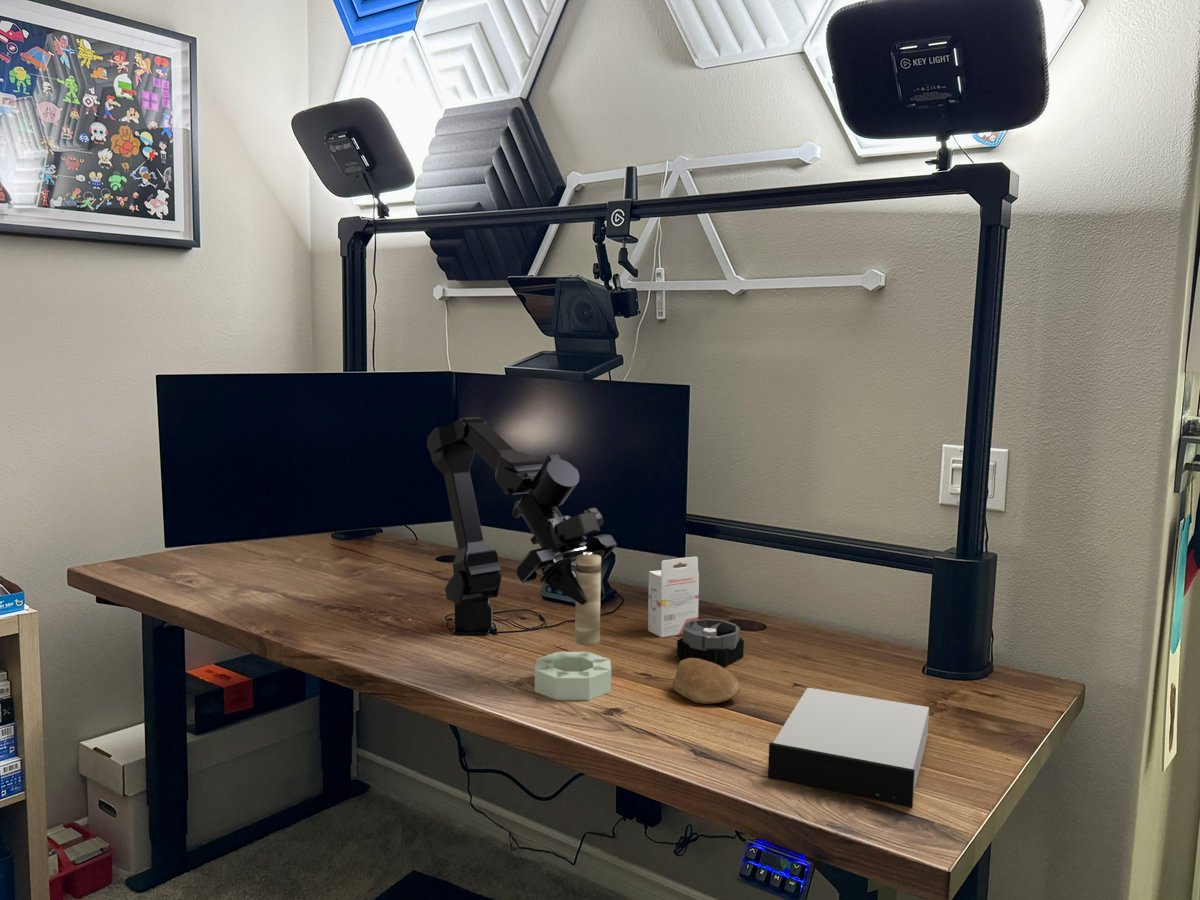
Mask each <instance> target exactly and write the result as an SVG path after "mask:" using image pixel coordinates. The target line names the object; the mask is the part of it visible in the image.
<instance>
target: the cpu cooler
mask: <svg viewBox="0 0 1200 900" xmlns="http://www.w3.org/2000/svg"><path fill="white" fill-rule="evenodd" d="M744 645H745V640H744V639H743V638H742V637H741V628H740V627H739V626H738V625H737V624H736V623H733V622H729V621H726V620H723V619H712V618H703V619H698V620H690V621H689V622H688V623H686V624H685V625H684V628H683V634H682V637H681V638H678V639H677V640H676V658H678V661H679V660H680V661H682V660H684V659H687V658H697V659H702V660H705V661H709V662H712V663H715V664H717V665H720V666H721V667H723V668H726V667H729V666H730V665H732V664H733V663H735V662H738V661H739V660H741V659H743V658H744V651H745V650H744V648H745V647H744Z"/></svg>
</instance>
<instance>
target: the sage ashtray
mask: <svg viewBox="0 0 1200 900" xmlns="http://www.w3.org/2000/svg"><path fill="white" fill-rule="evenodd" d="M611 664H612V663H611V659H610V658H608V657H604V656H602V655H599V654H596V653H593V652H590V651H556V652H553V653H550V654H547V655H544V656H541V657H538V658H536V659H535V665H534V692H535V693H537V694H538V693H539V694H541V695H543V696H546V697H548V698H551V699H553V700H556V701H591V700H593V699H595V698H598V697H600V696H603V695H605V694H609V693H610V692H611V693H612V665H611Z"/></svg>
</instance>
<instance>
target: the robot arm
mask: <svg viewBox="0 0 1200 900" xmlns="http://www.w3.org/2000/svg"><path fill="white" fill-rule="evenodd" d="M426 446H427V450H428V452H429V454H430V458H431V461H432V463H433V465H434V466H435V467H436V468H437V470H438V471H439V472H440V473H442V475H443V478H444V482H445V487H446V493H447V497H448V503H449V504H448V505H449V508H450V513H451V518H452V519H451V520H452V524H453V529H454V533H455V538H456V539H455V540H456V543H457V549H458V550H457V551H456V552H457V553H456V556H455V557H454V560H453V564H452V570H453V575H452V576H451V578H450V580H449V581H448V583H447V584H446V586H445V587H444V589H445V590H444V591H445V596H446V599H447V600H449V601H450V602H453V603H454V629H453V631H452V634H453V635H480V636H481V635H488V634H489V632H490V630H491V629H492V628H493V604H492V603H490V599H491V598H498V596H499V591H500V586H501V582H502V579H503V578H502V577H503V576H502V568H501V566H500V562H499V555H498V552H497V550H496V549H490V548H489V547H488V546H487V545H486V543H485V540H484V536H483V531H482V526H481V525H482V524H481V521H480V516H479V511H478V507H477V501H476V495H475V491H474V486H473V482H472V481H473V480H472V477H471V472H470V470H471V466H472V464H473V460H474V458H475V454H476V453H477V454H478V455H479V456H480V457H481V458H482V459H483V460H484V461H485V462H486V463H487V464H488V465H489V466H490V467H491V468H492V469H493V471H494V472H495V474H494V476H495V478H494V479H495V482H496V483H497V484H498V486H499V487H500V488H501V490H502V492H504V494H505V495H507V496H512V495H521V494H522V496H521V498H520V499H519V500H516V501H514V503H513V504H514V507H513V509H512V517H513V518H514V519H516V518H520V517H522V518H523V520H524V521H525V523H526V525H527V526H528V528H529V530H530V531H531V533H532V535H533V536H532V537H531V538H530V542H531V544H532V545H537V544H539V547H540V548H535V549H532V550H530V551H528V553H526V555H525V557H523V559H522V560H521V561H520V562H519V563H518V565H517V566H516V575H517V577H518V579H519V580H520V582H521V583H522V584H526V583H531V582H535V580H537V575H538V573H537V571H540V570H541V572H542V575H543V576H542V577H541V578H540V579H539V582H540V583H541V584H547V585H548V586H550V587H552V588H554V589H555V590H557V591H559V592H561V593H563V594H564V595H566V596H567V597H569V598H570V599H572V600H574V601H575V602H576V601H577V602H578V603H580V604H581V605H584V604H585V603H586V602H587V599H586V597H585V595H584V593H583V591H582V589H581V587H580V585H579V584H578V582H577V580H576V570H575V571H574V573H573V571H572V562H574V563H575V564H576V556H577V555H581V554H595V555H599V556H601V563H602V562H603V561H604V560H605V559H606V558H607V557H608V556H609V555H610V554H611V552H613V551H614V549H616V548H617V546H618V544H617V542H616V540H615V538H614V537H613V536H612V535H611V534H606V533H605V534H600V535H596V536H591V538H590V539H589V540H588V541H587V542H586V540H587V537H586V536H588V535H590V534H592V533H598V532H600V531H601V529H600V528H601V526H603V524H604V519H603V515H602V514H601V512H600V511H599V510H598V509H597V508H596V507H591V508H587V509H586V510H584V511H583V510H582V513H581V514H577V515H575V516H569V515H562V513H561V512H560V510H559V509H558V507H560V506H561V505H563V504H564V502H565V501H566V500H567V499H568V497H569V496H570V494H571V493H572V491H573V490H574V489H575V487H576V486H577V484H578V483H579V481H580V472H579V471H578V469H577V468H576V467H574V466H573V464H571V463H570V462H568V461H567V460H564V459H561V457H560V455H559V454H550V455H547V457H546V458H545V460H544V462H543V463H542V462H541V460H540V459H538V458H536V457H534V456H532V455H530V454H528V453H524V452H519V451H517V450H516V449H514V448H513V447H512V446H511V445H510V444H509V443H508V442H506V441H505V440H504V439H503V438H502V437H501V436H500V435H499V434H498V433H497V432H496V431H494V429H492V428H491V427H490V426H489V425H488V423H487V420H486V419H485V418H482V417H479V416H478V417H477V416H475V417H473V416H471V417H461V418H460V419H457V420H456V421H454V422H453V423H452V422H451V423H449V424H446V425H444V426H440V427H436V428H433V430H432V431H431V432H430V433H429V435H428V436H427V439H426ZM475 452H476V453H475ZM584 542H586V543H585V544H584V545H583V546H581V544H583V543H584ZM574 574H575V575H574ZM604 598H606V592H605V587H604V584H603V579H602V577H601V593H600V600H604ZM490 628H491V629H490ZM488 629H489V630H488Z"/></svg>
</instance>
